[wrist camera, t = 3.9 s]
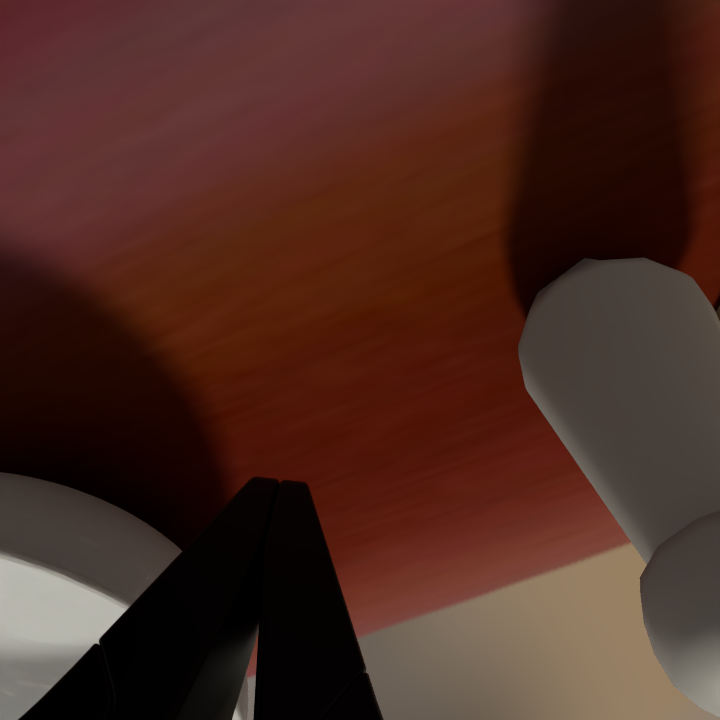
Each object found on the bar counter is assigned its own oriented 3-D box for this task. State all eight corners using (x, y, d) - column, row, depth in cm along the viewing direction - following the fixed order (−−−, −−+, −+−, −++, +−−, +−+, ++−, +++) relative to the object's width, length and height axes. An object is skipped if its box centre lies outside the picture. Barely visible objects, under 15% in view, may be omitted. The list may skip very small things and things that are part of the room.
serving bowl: (-228, 574, 31) (-374, 716, 25) (-73, 298, 22) (-242, 416, 16) (134, 733, 37) (87, 873, 32) (363, 572, 29) (356, 724, 23)
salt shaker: (720, 270, 20) (1130, 634, 9) (620, 402, 23) (834, 800, 12) (560, 205, 19) (796, 522, 8) (477, 352, 22) (566, 731, 11)
